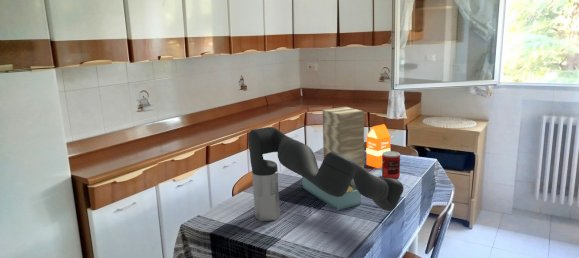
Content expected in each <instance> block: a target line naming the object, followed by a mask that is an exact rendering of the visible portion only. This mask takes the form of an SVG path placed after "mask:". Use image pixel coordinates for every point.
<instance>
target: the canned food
mask: <svg viewBox="0 0 579 258" xmlns="http://www.w3.org/2000/svg"><path fill="white" fill-rule="evenodd" d="M400 173H401V153H400V152H398V151H396V150H395V151H392V150H390V151H386V152H383V153H382V167H381V176H382V178H393V179H396V180H398V179H399V178H400V176H401V175H400Z"/></svg>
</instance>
